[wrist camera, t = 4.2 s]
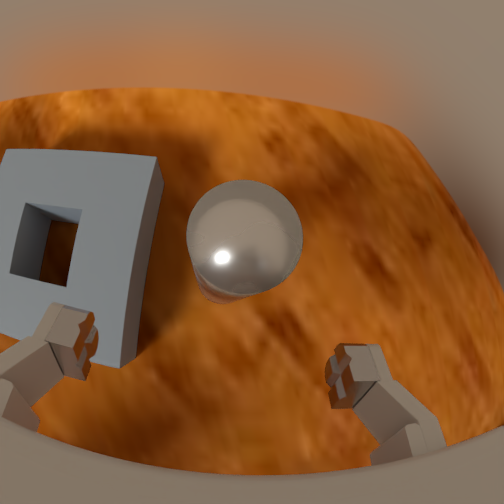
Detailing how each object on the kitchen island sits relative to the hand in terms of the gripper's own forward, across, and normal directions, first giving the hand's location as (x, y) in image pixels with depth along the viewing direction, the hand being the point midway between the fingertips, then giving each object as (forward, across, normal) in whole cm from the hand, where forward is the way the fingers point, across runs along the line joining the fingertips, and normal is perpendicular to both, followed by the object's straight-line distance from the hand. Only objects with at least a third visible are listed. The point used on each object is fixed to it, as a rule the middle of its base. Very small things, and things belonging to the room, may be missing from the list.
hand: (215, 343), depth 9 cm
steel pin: (+9, 0, +5) cm, 11 cm away
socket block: (+10, +10, +5) cm, 15 cm away
